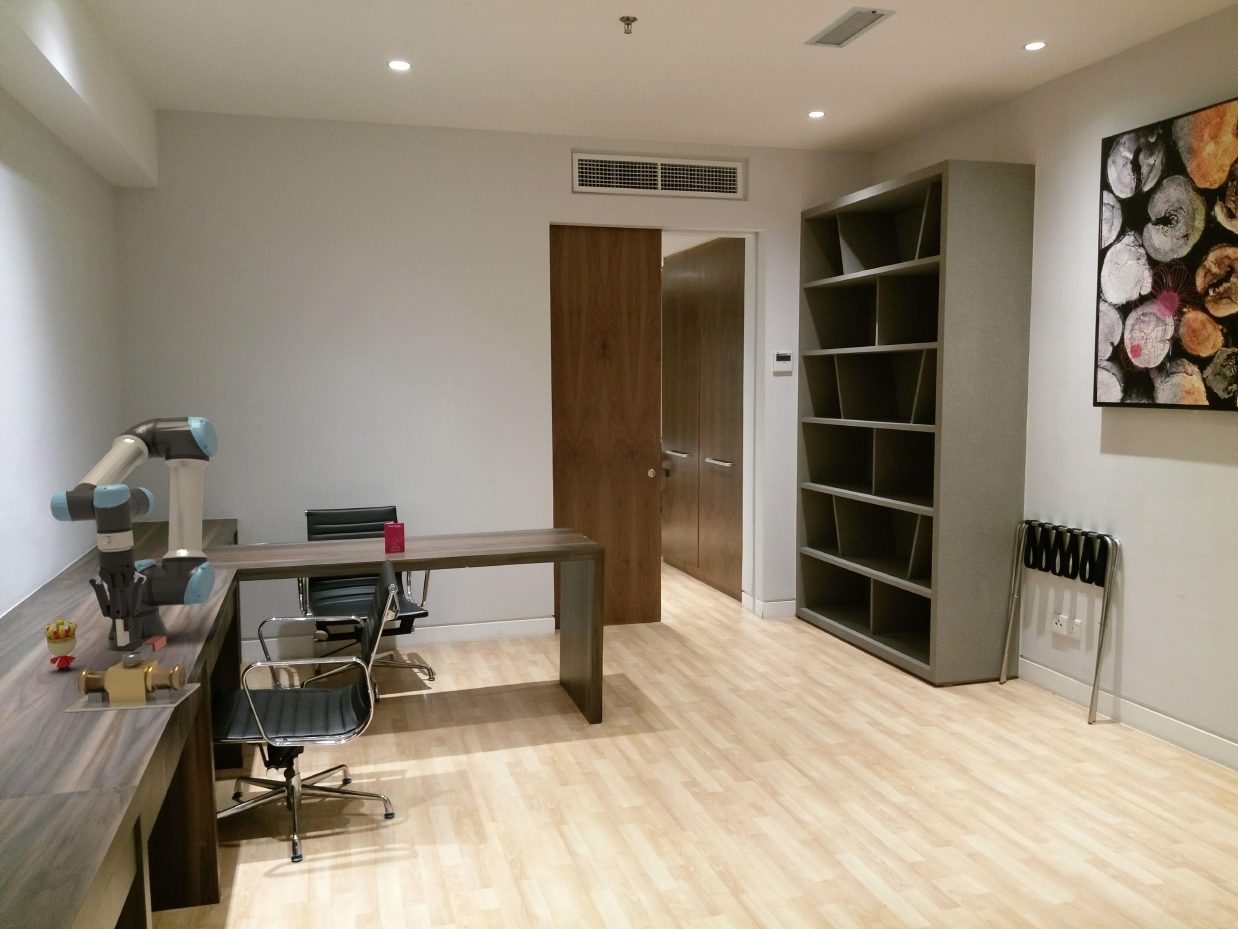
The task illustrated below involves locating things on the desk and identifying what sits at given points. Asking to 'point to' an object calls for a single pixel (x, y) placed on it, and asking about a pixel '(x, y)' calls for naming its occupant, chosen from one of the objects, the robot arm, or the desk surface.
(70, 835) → the desk surface
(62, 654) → the toy
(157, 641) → the lever
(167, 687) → the valve body
